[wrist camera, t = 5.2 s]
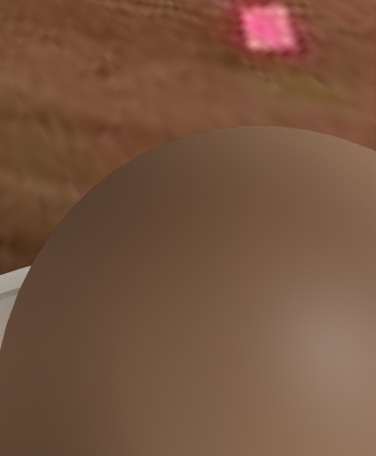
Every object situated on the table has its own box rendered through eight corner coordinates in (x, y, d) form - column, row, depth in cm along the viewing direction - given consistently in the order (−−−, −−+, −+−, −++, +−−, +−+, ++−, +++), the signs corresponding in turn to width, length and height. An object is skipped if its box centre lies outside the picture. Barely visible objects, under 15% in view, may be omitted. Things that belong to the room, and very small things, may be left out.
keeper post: (243, 378, 13) (584, 1087, 1) (149, 333, 14) (-126, 543, 2) (276, 280, 14) (607, 219, 3) (188, 244, 15) (137, 76, 3)
